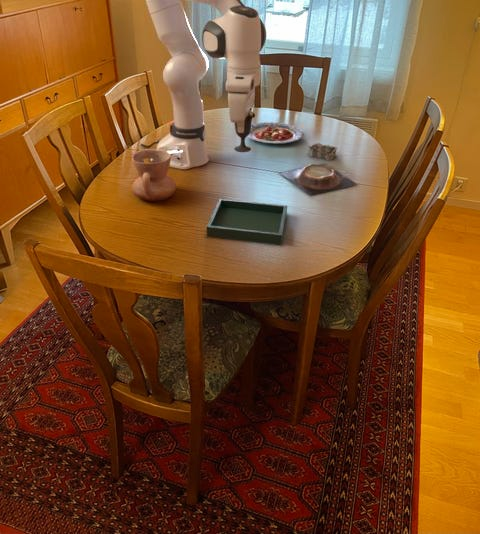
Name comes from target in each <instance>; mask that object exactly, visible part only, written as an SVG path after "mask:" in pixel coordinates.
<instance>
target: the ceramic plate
mask: <svg viewBox="0 0 480 534" xmlns="http://www.w3.org/2000/svg"><path fill="white" fill-rule="evenodd" d="M303 134H304V133H303V131H302V130H301V129H300V128H298V127H296V126H295V125H291V124H289V123H283V122H275V121H273V122H272V121H271V122H270V121H269V122H268V121H266V122H265V121H264V122H257V123H253V124H251V130H250V134H249V135H248V136H247V137H246V138H249V139H250V140H253V141H256V142H260V143H264V144H276V145H277V144H278V145H280V144H290V143H294V142H296V141H299V140H300V139H301V138H302V137H303Z"/></svg>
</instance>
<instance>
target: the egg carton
mask: <svg viewBox="0 0 480 534" xmlns="http://www.w3.org/2000/svg"><path fill="white" fill-rule="evenodd" d="M337 149H338V146H331V145H329V144H328V145H326V144H321V143H320V142H316V143H313V144H312V145H309V146H308V156H310V157H311V158H313V157H317V158H318V159H325V160H326V161H330V160H333V159H334V157H336V156H337V155H336V154H337Z"/></svg>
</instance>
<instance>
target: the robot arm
mask: <svg viewBox="0 0 480 534" xmlns="http://www.w3.org/2000/svg"><path fill="white" fill-rule="evenodd" d="M185 1H186V2H194V3H200V4H204V5H207V6H210V7H213V8H215V9H216V10H218V11H219V13H221V15H222V16H220V17H216V18H214V19H211V20H208V21H207V22H206V23H205V25H204V27H203V29H202V33H201V34H202V35H201V42H202V47H203V49H204V51H205V52H206V54H207V55H208V56H209V57H210V58H212V59H216V60H217V59H218V60H222V59H226V82H225V91H226V92H228V93H227V102H228V103H227V104H228V114H229V120H230V122H231V123H234V124H235V123H237V126H238V132H239V133H243V132H244V130H245V125H244V121H245V119H246V117H247V115H248V113H249V110H250V109H251V108H253V105H254V103H255V98H256V87H258V86H259V85H260V84H261V60H260V52H261V51H262V50H263V48H264V46H265V44H266V41H267V29H266V27H265V24H264V22H263V20H262V19H261V18H260V14H259V12H258V11H257V10H256V8H255V9H254V8H253V7H251V6H246V5H245V4H244V3H243V2H242V1H241V0H185ZM145 3H146V7H147V9H148V13H149V16H150V18H151V21H152V24H153V27H154V29H155V33H156V34H157V38H158V40H159V41H160V43H162V44H163V45H164V47H165V48H166V49H167V51H168V53H169V55H170V56H171V58H170V59H169V60H168V61H167V62H166V64H165V66H164V68H163V71H162V80H163V81H164V84H165V85H166V87H167V88H168V91H169V94H170V98H171V103H172V110H173V111H172V113H173V120H172V121H171V122H170V125H169V127H168V134H166V135H165V136H164V137H162V138H160V139H157V141H153V142H152V143H150V144H148V145H146V144H144V143H140V146H141V147H144V148H146V149H149V148H151V147H153V146H154V145H156V144H157V145H156V148H155V149H156V150H159V149H161V150H165V151H167V152H169V153H170V155H171V160H170V166H169V168H174V169H179V170H188V169H191V168H196V167H200V166H203V165H206V164H207V163H208V162H209V161H210V159H209V155H208V153H207V152H208V151H207V146H206V124H205V123H204V115H205V114H204V102H203V100H202V98H201V94H200V89H199V84H200V83H199V82H200V81H201V80H202V79H203V78H205V75H206V74H207V71H208V68H209V60H208V57H207V55H206V54H205V53H204V51H202V49H201V47H200V45H199V43H198V41H197V39H196V38H195V35H194V34H193V31H192V29H191V27H190V24H189V21H188V18H187V15H186V11H185V10H184V5H183V3H182V0H145ZM152 160H153V159H150V162H151V161H152Z"/></svg>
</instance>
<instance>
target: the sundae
mask: <svg viewBox="0 0 480 534" xmlns="http://www.w3.org/2000/svg"><path fill="white" fill-rule="evenodd" d="M252 110H253V107H251V109H250V110H249V113H248V115H247V117H246V119H245V121H244V125H245V130H244V132H243V133H239V132H238V126H237V123H234V130H235V134H236V135H237V137H239V139H240V144H239V145H235V147H234V151H236V152H237V153H248V152H250V151H252V147H251V146H249V145H247V144H246V138H248V137H247V136H248V135H249V134H250V130H251V125H252V123H253V122H252V121H253V119H254V118H255V117H256V114H255V112H254V111H252Z"/></svg>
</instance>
